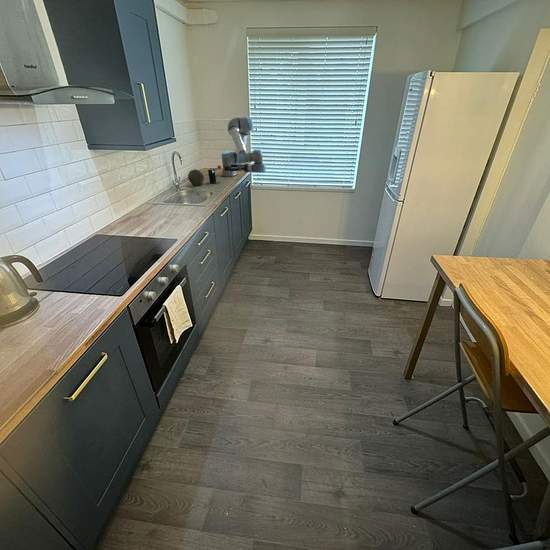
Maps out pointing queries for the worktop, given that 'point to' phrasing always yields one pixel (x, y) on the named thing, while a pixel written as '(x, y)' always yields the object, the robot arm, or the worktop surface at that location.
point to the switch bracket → (212, 177)
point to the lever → (217, 168)
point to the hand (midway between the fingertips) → (227, 167)
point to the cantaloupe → (195, 177)
